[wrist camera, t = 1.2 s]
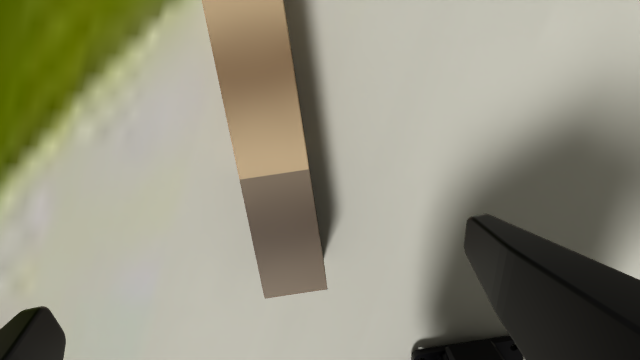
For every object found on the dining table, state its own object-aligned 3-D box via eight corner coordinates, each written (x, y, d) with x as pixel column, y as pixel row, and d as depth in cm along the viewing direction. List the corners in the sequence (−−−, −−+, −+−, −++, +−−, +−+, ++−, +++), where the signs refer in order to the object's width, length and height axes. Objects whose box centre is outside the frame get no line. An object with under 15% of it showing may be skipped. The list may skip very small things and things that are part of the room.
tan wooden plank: (323, 258, 23) (327, 289, 20) (268, 266, 23) (264, 298, 20) (280, -24, 18) (277, -36, 15) (212, -14, 18) (196, -24, 15)
